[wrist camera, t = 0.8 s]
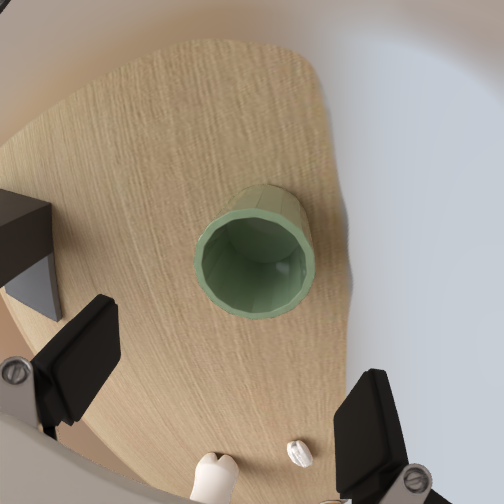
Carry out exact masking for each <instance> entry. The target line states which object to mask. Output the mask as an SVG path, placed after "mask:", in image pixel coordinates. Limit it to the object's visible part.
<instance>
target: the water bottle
mask: <svg viewBox="0 0 504 504" xmlns="http://www.w3.org/2000/svg"><path fill="white" fill-rule="evenodd" d="M237 479H238V465H237V463H236V462H235V461H234V460H233V458H232V457H231V456H229V455H223V456H222V457H221V458H220V459H219V460H217V457H216V454H215V453H213V452H211V453H207V454H206V455H205V456H203V457H202V459H201V460H200V461H199V463H198V465H197V467H196V470H195V482H194V487H193V491H192V494H191V496H190V499H191V500H194V501H198V502H202V503H206V504H230V500H231V495H232V492H233V489H234V486H235V484H236V481H237Z"/></svg>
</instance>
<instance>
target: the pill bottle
mask: <svg viewBox="0 0 504 504" xmlns="http://www.w3.org/2000/svg"><path fill="white" fill-rule="evenodd" d="M320 504H341V502H340V501H335V500H334V501H325V502H321V503H320Z"/></svg>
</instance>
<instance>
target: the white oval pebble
mask: <svg viewBox="0 0 504 504" xmlns="http://www.w3.org/2000/svg"><path fill="white" fill-rule="evenodd" d="M287 452H288V455H289V457H290V458H291V460H292V461H293V462H294V463H295V464H297V465H299V466H303V467H304V468H306V467H308V466H310V465H312V464H313V458H312V456H311V453H310V451H309V449H308V447H307V446H306V445H305V443H303V442H302V441H299V440H298V441H296V442H295V441H292V442H289V443H288V444H287Z"/></svg>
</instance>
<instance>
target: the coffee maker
mask: <svg viewBox="0 0 504 504" xmlns="http://www.w3.org/2000/svg"><path fill="white" fill-rule="evenodd" d="M3 286H5V290H6V293H7V294H8V295H10V296H12V297H13V298H15V299H17V300H18V301H20V302H22V303H23V304H25V305H27V306H28V307H30V308H32V309H34V310H36V311H37V312H39V313H41V314H43V315H45V316H46V317H48V318H50V319H52V320H54V321H56V322H59V321H60V320H61V319H62V314H61V308H60V302H59V296H58V289H57V282H56V274H55V265H54V254H53V239H52V216H51V203H49V202H45V201H42V200H38V199H35V198H31V197H28V196H24V195H20V194H17V193H13V192H10V191H6V190H3V189H0V288H1V287H3Z"/></svg>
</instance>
